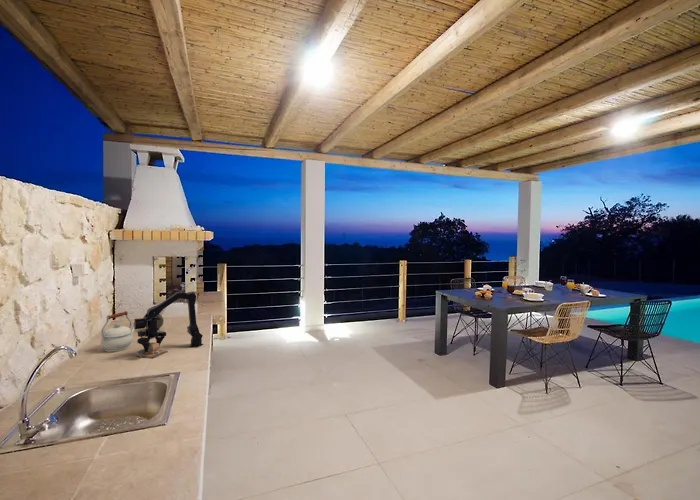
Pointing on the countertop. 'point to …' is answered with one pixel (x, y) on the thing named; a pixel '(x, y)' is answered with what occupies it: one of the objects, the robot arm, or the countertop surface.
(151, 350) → the tan cube
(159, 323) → the cantaloupe
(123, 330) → the kettle
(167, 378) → the countertop surface
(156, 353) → the board
